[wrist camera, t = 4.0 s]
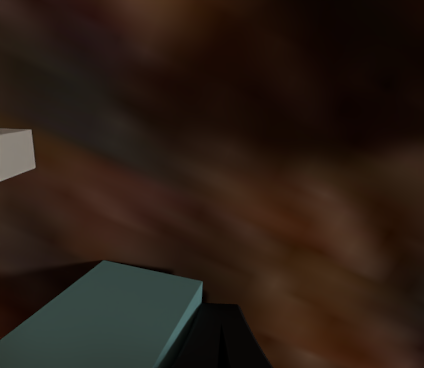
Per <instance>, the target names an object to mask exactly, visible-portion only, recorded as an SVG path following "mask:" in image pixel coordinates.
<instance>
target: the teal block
mask: <svg viewBox="0 0 424 368" xmlns="http://www.w3.org/2000/svg"><path fill="white" fill-rule="evenodd" d="M202 283H203V281H198V280H193V279H189V278H184V277H179V276H175V275H170V274H165V273H161V272H156V271H151V270H147V269H142V268H138V267H133V266H128V265H124V264H119V263H114V262H110V261H105V260H103V261H102V262H101V263H99V264H98V265H97V266H96V267H94V268H93V269H92V270H90V271H89V272H88V273H87V274H85V275H84V276H83V277H81V278H80V279H79V280H77V281H76V282H75V283H74V284H72V285H71V286H70V287H68V288H67V289H66V290H64V291H63V292H62V293H61V294H59V295H58V296H57V297H55V298H54V299H53V300H51V301H50V302H49V303H48V304H46V305H45V306H44V307H42V308H41V309H40V310H38V311H37V312H36V313H35V314H33V315H32V316H31V317H29V318H28V319H27V320H25V321H24V322H23V323H22V324H20V325H19V326H18V327H16V328H15V329H14V330H13V331H11V332H10V333H9V334H7V335H6V336H5V337H3V338H2V339H1V340H0V368H171V367H172V365H173V364H174V362H175V360H176V358H177V357H178V355H179V353H180V351H181V349H182V347H183V345H184V343H185V341H186V339H187V337H188V335H189V333H190V330H191V328H192V326H193V323H194V321H195V318H196V315H197V311H198V308H199V307H200V305H201V304H202Z"/></svg>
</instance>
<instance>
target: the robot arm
mask: <svg viewBox="0 0 424 368" xmlns="http://www.w3.org/2000/svg"><path fill="white" fill-rule="evenodd" d="M171 368H273V367H272V365H271V364H270V362H269V361H268V359H267V358H266V356H265V354H264V353H263V351H262V349H261V347H260V346H259V344H258V342H257V341H256V339H255V337H254V335H253V333H252V332H251V330H250V328H249V326H248V324H247V322H246V320H245V317H244V315H243V313H242V310H241V308H240V307H239V306H238V305H237V304H214V303H202V304H201V305H200V307H199V308H198V311H197V315H196V318H195V321H194V323H193V326H192V328H191V330H190V333H189V335H188V337H187V339H186V341H185V343H184V345H183V347H182V349H181V351H180V353H179V355H178V357H177V358H176V360H175V362H174V364H173V365H172V367H171Z"/></svg>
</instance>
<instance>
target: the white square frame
mask: <svg viewBox="0 0 424 368" xmlns="http://www.w3.org/2000/svg"><path fill="white" fill-rule="evenodd" d="M34 168H35V159H34V150H33V141H32V132H31V130H27V129H4V128H0V181H3V180H5V179H8V178H10V177H13V176H16V175H18V174H21V173H23V172H26V171H29V170H31V169H34Z"/></svg>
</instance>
